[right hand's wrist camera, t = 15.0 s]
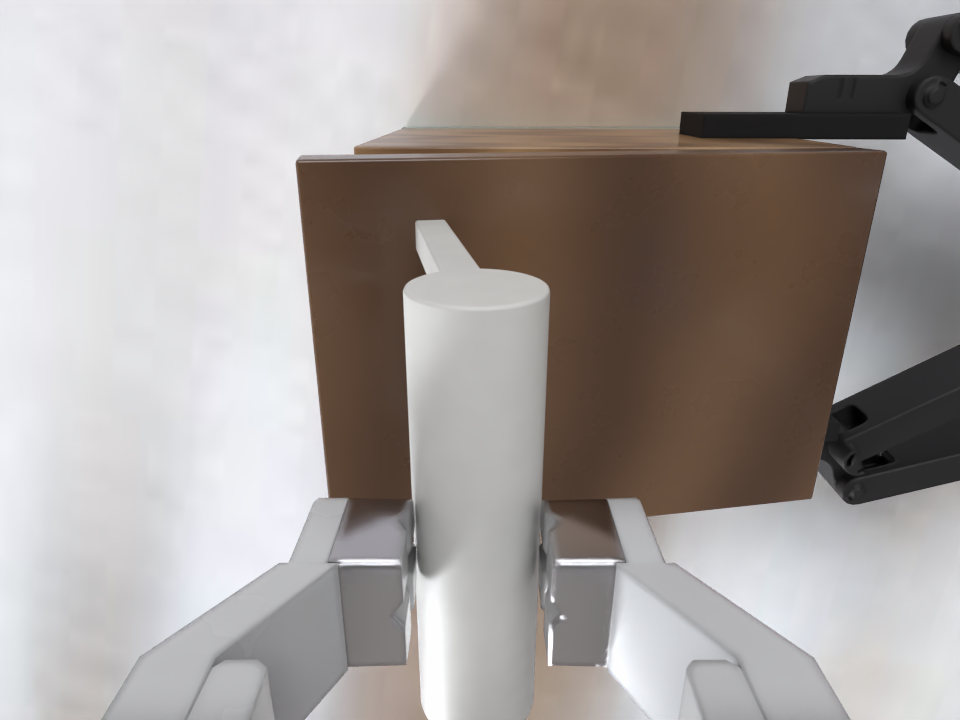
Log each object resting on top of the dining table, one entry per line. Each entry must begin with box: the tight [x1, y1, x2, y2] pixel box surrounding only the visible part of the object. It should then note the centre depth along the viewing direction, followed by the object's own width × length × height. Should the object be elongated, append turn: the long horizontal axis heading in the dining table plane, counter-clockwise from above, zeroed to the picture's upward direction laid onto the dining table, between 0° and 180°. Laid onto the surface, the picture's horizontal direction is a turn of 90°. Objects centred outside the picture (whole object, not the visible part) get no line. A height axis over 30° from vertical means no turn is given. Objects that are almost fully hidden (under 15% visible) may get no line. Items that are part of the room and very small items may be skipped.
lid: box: [296, 148, 887, 720], centre depth 14 cm, size 14×10×8 cm
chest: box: [354, 127, 856, 155], centre depth 25 cm, size 14×10×11 cm
